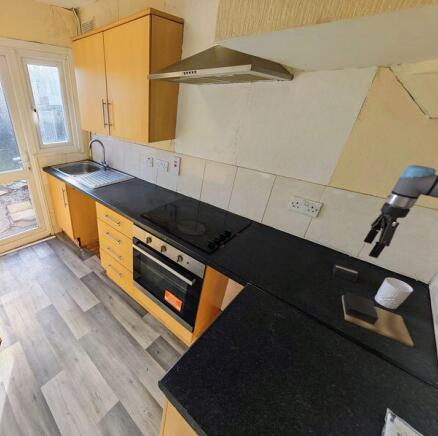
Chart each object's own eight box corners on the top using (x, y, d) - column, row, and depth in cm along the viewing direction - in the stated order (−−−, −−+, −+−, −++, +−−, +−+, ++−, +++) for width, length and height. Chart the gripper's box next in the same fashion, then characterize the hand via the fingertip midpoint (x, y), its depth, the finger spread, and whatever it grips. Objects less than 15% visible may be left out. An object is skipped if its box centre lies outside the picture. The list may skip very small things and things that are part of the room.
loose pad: (353, 275, 108) (356, 269, 106) (354, 282, 103) (358, 276, 101) (332, 268, 111) (335, 262, 110) (333, 275, 107) (336, 269, 105)
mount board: (400, 318, 86) (406, 309, 84) (412, 346, 75) (420, 338, 73) (341, 296, 95) (346, 288, 93) (345, 319, 84) (350, 311, 82)
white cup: (402, 307, 91) (417, 289, 86) (392, 312, 88) (406, 294, 84) (379, 293, 97) (391, 275, 93) (368, 298, 95) (380, 280, 90)
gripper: (378, 194, 100) (355, 234, 110) (392, 213, 82) (363, 259, 91) (401, 198, 97) (375, 240, 106) (422, 219, 78) (387, 267, 88)
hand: (369, 249), depth 99 cm, fingers open, 13 cm apart
